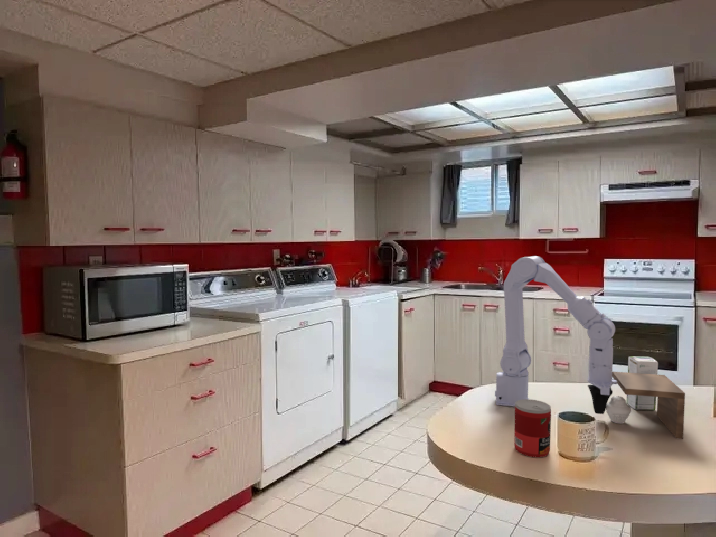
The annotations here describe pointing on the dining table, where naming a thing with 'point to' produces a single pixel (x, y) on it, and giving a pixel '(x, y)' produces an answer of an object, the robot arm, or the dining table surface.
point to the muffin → (618, 409)
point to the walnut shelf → (663, 389)
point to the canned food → (532, 428)
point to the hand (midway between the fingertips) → (599, 412)
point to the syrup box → (645, 367)
